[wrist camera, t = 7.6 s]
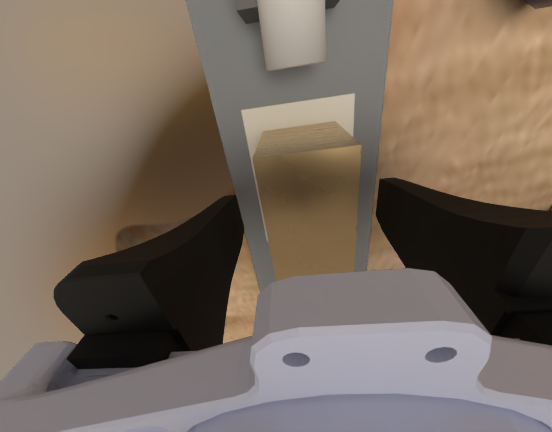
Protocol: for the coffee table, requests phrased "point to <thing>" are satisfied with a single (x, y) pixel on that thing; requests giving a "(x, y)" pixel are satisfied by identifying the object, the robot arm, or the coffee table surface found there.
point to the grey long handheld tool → (539, 3)
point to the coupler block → (309, 198)
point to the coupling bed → (293, 89)
